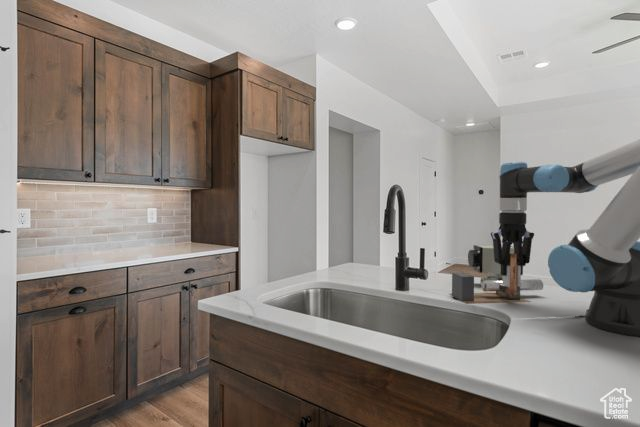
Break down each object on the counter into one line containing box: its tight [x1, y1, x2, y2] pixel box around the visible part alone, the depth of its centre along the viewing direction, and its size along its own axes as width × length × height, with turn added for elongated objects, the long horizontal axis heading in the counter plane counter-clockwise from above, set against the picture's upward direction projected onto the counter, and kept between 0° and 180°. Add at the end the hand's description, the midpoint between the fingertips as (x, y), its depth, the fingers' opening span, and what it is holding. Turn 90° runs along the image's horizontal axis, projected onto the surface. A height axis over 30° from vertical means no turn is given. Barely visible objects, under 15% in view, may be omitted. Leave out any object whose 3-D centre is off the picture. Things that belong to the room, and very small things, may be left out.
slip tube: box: [480, 253, 544, 295], centre depth 114 cm, size 20×10×14 cm, turn 95°
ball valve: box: [467, 244, 514, 283], centre depth 134 cm, size 18×8×18 cm, turn 84°
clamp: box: [495, 274, 521, 300], centre depth 117 cm, size 7×4×7 cm, turn 5°
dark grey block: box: [451, 271, 475, 302], centre depth 116 cm, size 7×4×8 cm, turn 5°
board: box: [449, 292, 531, 305], centre depth 117 cm, size 12×22×1 cm, turn 95°
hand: (511, 285), depth 110 cm, fingers closed on slip tube, 3 cm apart
